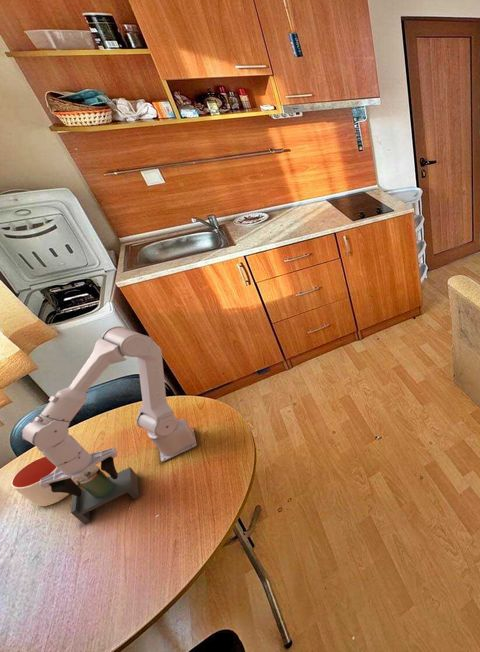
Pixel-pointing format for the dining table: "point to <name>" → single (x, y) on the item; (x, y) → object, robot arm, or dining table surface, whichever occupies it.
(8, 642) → the dining table surface
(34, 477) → the cup
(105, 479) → the canister
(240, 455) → the dining table surface
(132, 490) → the grey channel-top block
